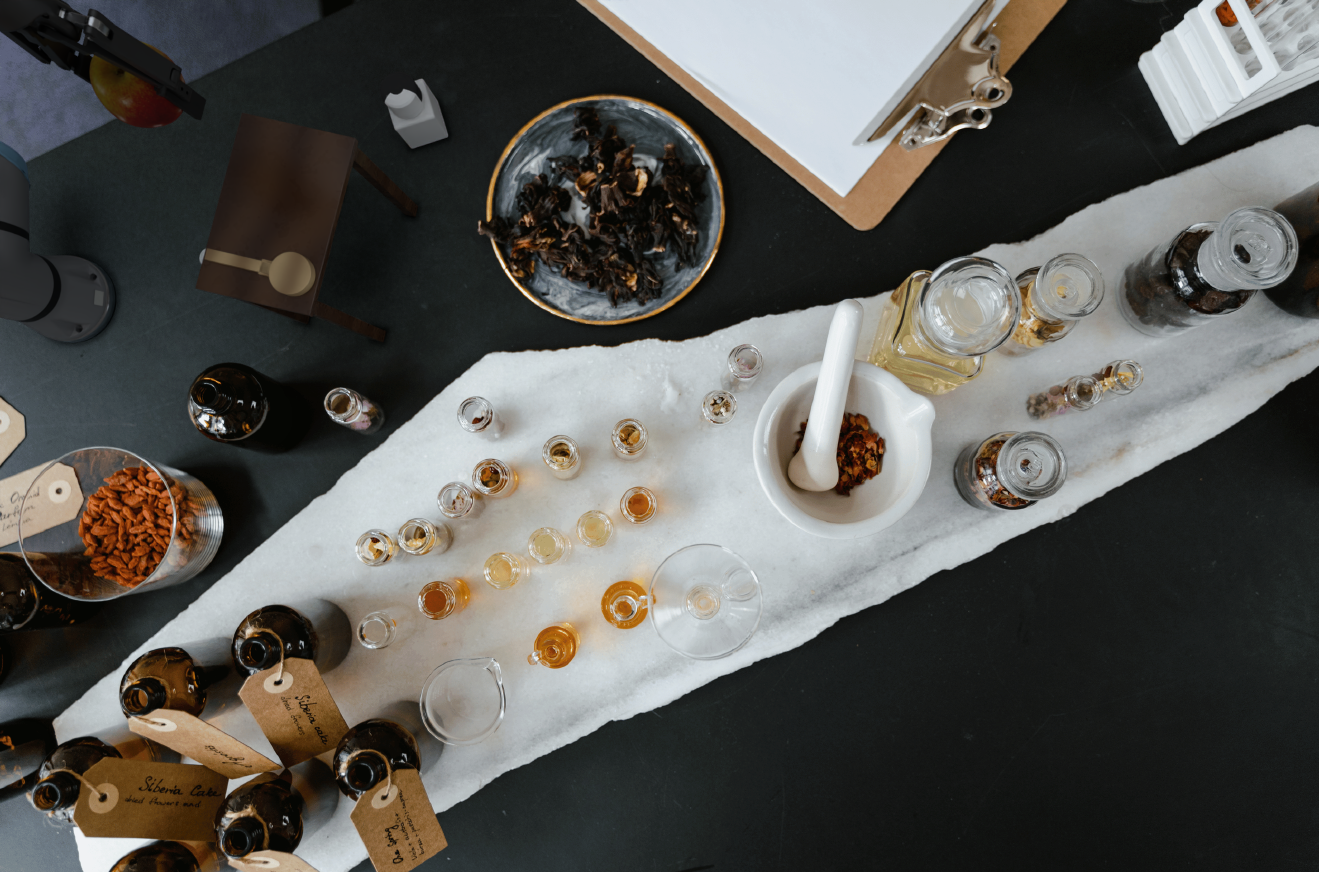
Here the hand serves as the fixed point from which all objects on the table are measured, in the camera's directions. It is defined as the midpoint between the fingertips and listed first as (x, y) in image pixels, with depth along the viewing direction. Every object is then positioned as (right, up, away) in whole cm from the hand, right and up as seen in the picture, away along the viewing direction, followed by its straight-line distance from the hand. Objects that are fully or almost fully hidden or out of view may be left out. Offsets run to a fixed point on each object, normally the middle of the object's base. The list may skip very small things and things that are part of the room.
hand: (163, 101), depth 83 cm
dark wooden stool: (+8, -11, +35) cm, 38 cm away
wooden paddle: (+5, -18, +11) cm, 21 cm away
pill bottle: (-13, -12, +36) cm, 40 cm away
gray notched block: (+20, +14, +36) cm, 43 cm away
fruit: (0, 0, +1) cm, 1 cm away
